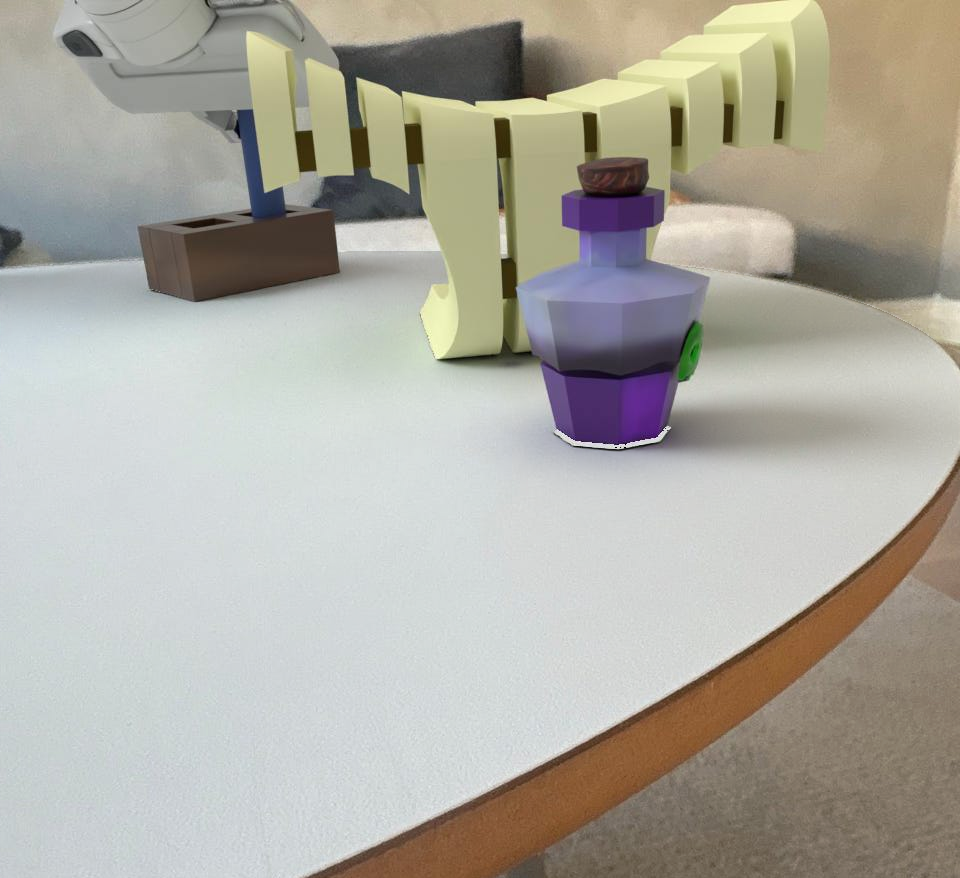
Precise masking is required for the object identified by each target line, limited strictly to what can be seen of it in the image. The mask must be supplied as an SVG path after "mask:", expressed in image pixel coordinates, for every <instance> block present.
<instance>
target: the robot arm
mask: <svg viewBox="0 0 960 878" xmlns="http://www.w3.org/2000/svg"><path fill="white" fill-rule="evenodd" d="M247 31H252V32H257V33H261V34H263V35H265V36H267V37H269V38H270V39H272V40H274V41H276V42H278V43H280V44H282V45H284V46H286V47H288V48H290V49H291V50H293V55H294V63H295V72H296V80H297V82H296V86H295V109H298V108H299V109H300V108H310V105H309V96H308V86H307V76H306V66H305V60H307V59H308V58H310V59H313V60H315V61H317V62H320V63H322V64H324V65H327V66H329V67H332V68H334V69H336V70H339V71H340V61H339V58H338V56H337V55H336V53H335V51H334V50H333V49H332V47H331V46H330V45H329V43H328V42H327V40H326V39H325V38H324V37H323V35H322V34H321V33H320V31H319V30H318V28H317V27H316V26H315V25H314V24H313V22H312V21H311V20H310V19H309V18H308V16H306V14H305V13H304V12H303V11H302V10H301V8H300V7H298V6H297V5H296V4H295V3H294V2H293V1H292V0H65V2H64V4H63V7H62V9H61V11H60V14H59V16H58V19H57V21H56V24H55V28H54V30H53V33H52V36H51V39H52V41H53V43H54V44H55V45H56V46H57V47H58V49H59V50H61V52H62V53H64V54H65V55H66V56H68V57H69V58H72V59H75V62H76V64H77V66H78V68H79V69H80V71H81V72H82V73H83V74H84V75H85V76H86V77H87V79H88V80H89V81H90V82H91V83H92V85H94V87H96V88H97V89H98V91H99V92H100V93H101V94H102V95H103V96H104V97H105V98H106V99H107V100H108V101H109V102H110V104H112V105H114V106H116V107H117V108H119V109H121V110H123V111H124V112H126V113H129V114H131V115H132V114H133V115H138V114H163V113H166V114H167V113H187V112H190V113H191V114H192V115H193V116H194V118H196V119H197V120H199V121H201V122H202V123H204V124H206V125H208V126H210V127H211V128H213V129H215V130H216V131H219V132H220V134H222V137H224V138H225V139H226V140H227V142H228V143H229V144H242V143H241V136H240V130H239V123H238V116H237V110H247V109H253V104H252V97H251V88H250V79H249V70H248V59H247V43H246V34H247Z"/></svg>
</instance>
